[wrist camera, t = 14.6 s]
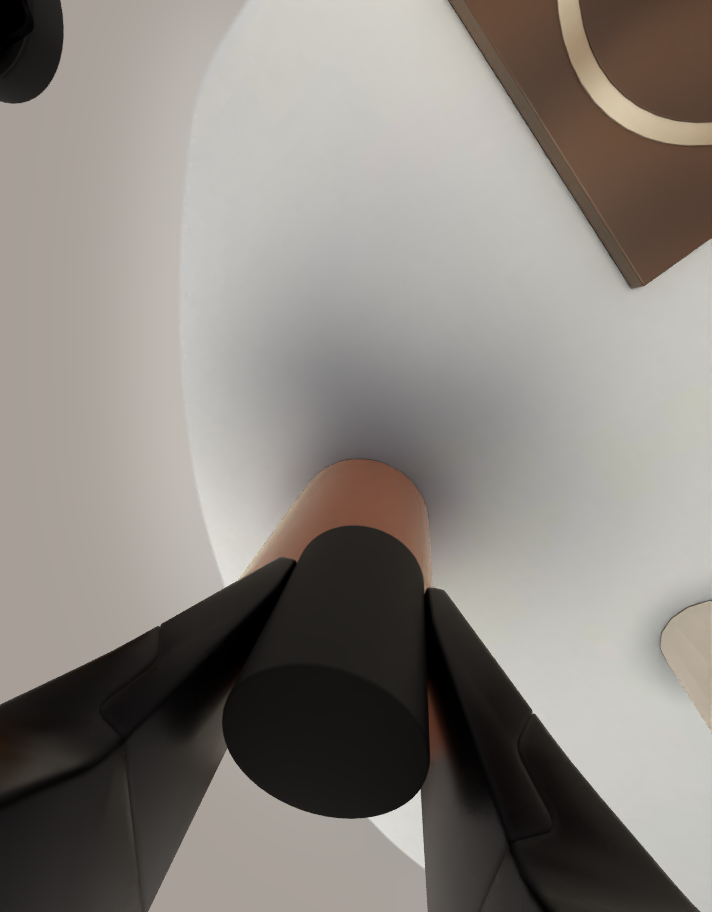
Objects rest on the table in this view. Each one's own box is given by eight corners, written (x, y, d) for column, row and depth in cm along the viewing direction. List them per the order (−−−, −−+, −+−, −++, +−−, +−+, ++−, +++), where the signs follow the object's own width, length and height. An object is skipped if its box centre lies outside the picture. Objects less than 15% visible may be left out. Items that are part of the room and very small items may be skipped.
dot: (280, 537, 9) (188, 676, 6) (406, 512, 9) (398, 652, 5) (319, 639, 10) (263, 821, 6) (437, 625, 9) (452, 819, 6)
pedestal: (281, 475, 23) (169, 592, 12) (409, 443, 21) (401, 550, 11) (322, 585, 25) (255, 763, 14) (442, 564, 23) (463, 752, 13)
